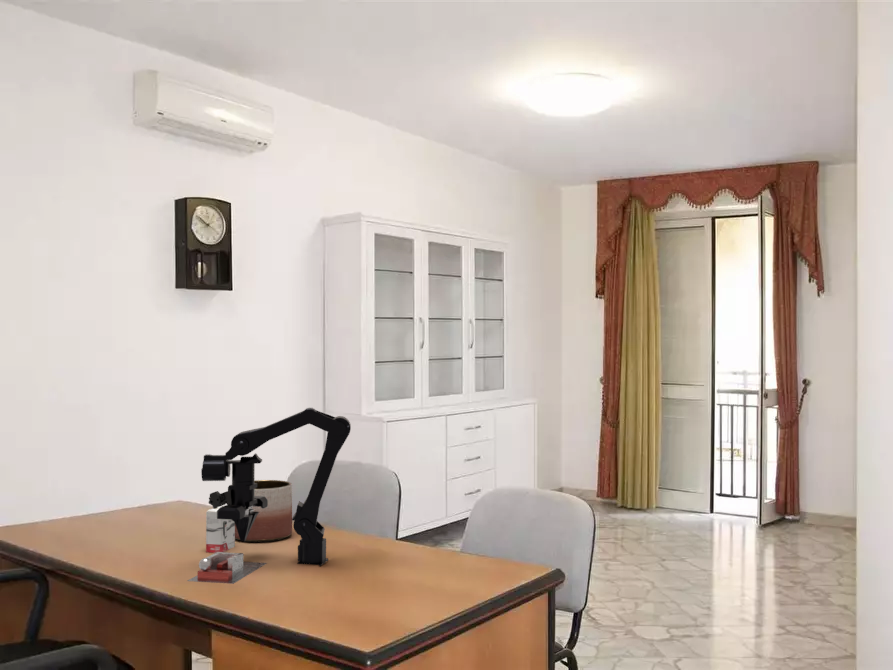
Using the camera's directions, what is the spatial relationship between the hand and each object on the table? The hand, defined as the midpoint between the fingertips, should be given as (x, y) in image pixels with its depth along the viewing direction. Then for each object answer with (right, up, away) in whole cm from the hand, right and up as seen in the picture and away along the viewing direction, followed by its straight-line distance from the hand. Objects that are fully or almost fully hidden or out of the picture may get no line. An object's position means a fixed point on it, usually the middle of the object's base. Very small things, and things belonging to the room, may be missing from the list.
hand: (242, 540), depth 221 cm
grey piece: (-2, -6, -9) cm, 11 cm away
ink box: (-10, -7, +16) cm, 20 cm away
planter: (-2, -7, +33) cm, 34 cm away
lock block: (-2, -6, -11) cm, 12 cm away
